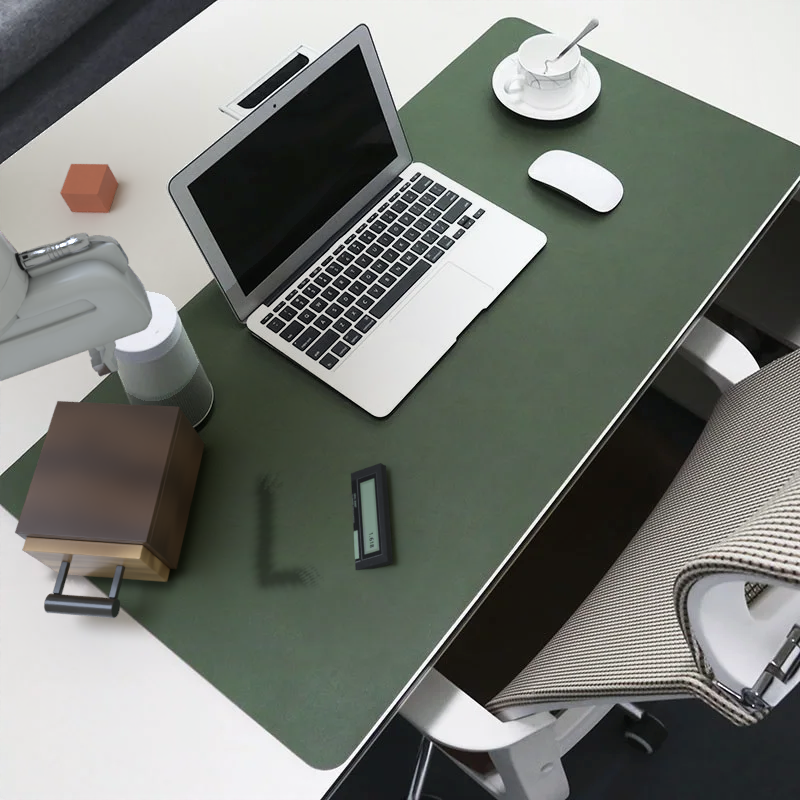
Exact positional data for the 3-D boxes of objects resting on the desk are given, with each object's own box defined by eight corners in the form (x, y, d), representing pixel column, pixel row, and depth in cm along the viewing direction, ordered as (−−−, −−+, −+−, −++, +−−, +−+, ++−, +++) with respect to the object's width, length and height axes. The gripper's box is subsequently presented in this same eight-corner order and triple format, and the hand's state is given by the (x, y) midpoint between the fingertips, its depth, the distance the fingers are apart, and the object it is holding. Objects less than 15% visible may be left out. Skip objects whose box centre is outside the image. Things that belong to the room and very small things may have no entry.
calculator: (267, 487, 80) (260, 475, 78) (388, 475, 80) (385, 462, 77) (267, 583, 76) (260, 573, 73) (395, 570, 75) (392, 560, 73)
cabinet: (180, 573, 77) (146, 541, 69) (62, 564, 78) (14, 532, 70) (208, 448, 83) (179, 406, 75) (97, 442, 84) (57, 400, 76)
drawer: (157, 632, 74) (126, 611, 67) (46, 623, 75) (5, 602, 68) (195, 466, 81) (170, 433, 74) (93, 460, 82) (60, 428, 76)
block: (76, 219, 98) (59, 193, 94) (86, 190, 100) (70, 163, 97) (113, 220, 98) (97, 194, 94) (122, 191, 100) (107, 164, 96)
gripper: (99, 191, 54) (170, 310, 67) (-214, 296, 53) (-83, 399, 65) (117, 262, 52) (188, 373, 64) (-214, 376, 50) (-77, 468, 62)
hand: (49, 387), depth 64 cm, fingers open, 8 cm apart
